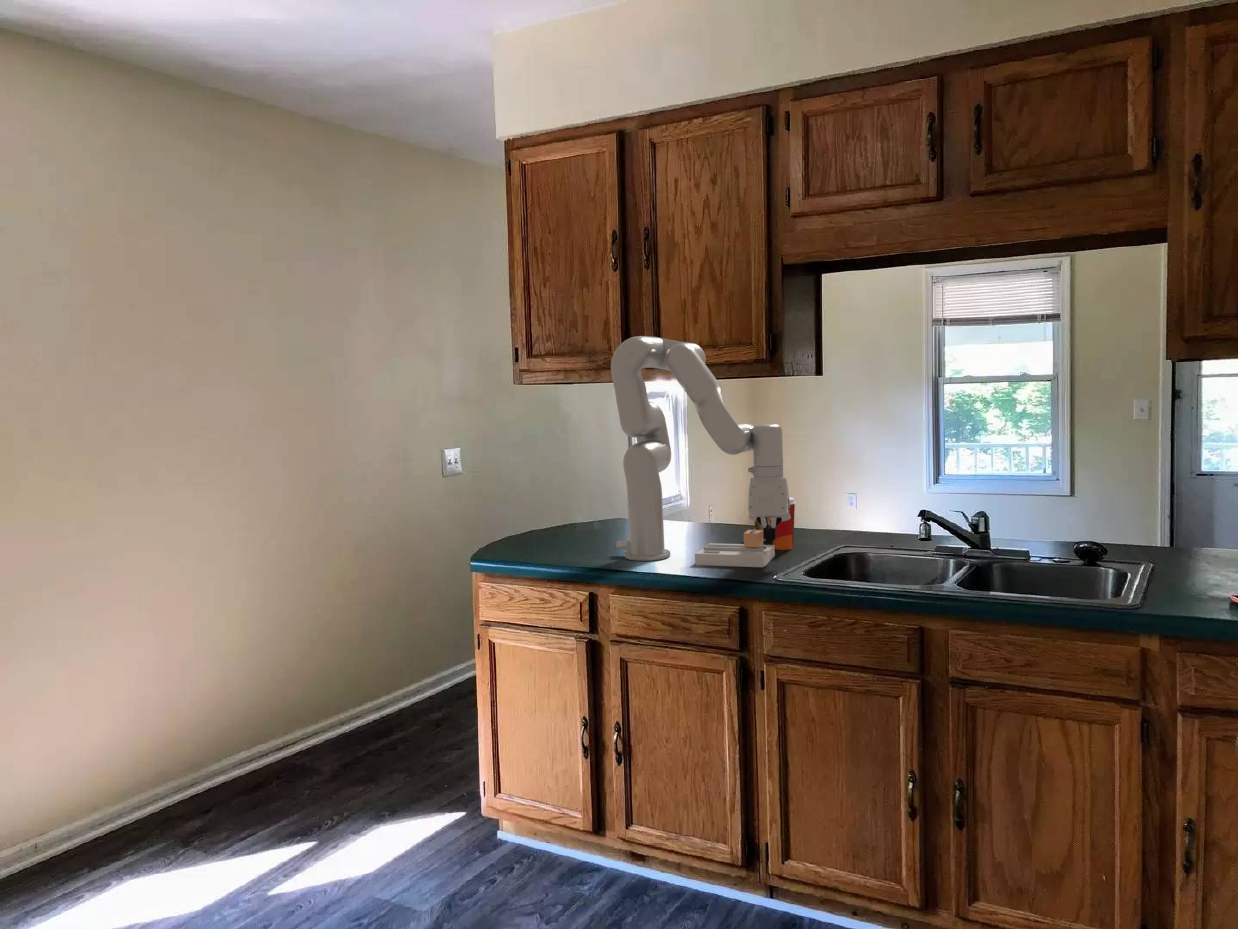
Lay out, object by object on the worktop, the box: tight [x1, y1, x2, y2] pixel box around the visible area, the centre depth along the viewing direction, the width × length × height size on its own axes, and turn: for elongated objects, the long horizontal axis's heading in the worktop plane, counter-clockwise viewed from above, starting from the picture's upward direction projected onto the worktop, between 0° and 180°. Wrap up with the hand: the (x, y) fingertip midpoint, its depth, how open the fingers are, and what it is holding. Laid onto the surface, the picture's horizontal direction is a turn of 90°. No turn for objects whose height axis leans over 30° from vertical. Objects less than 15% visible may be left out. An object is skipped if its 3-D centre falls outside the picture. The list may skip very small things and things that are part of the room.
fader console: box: [694, 542, 776, 568], centre depth 244 cm, size 18×14×4 cm
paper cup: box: [770, 496, 797, 551], centre depth 257 cm, size 8×8×14 cm
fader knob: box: [743, 528, 764, 548], centre depth 242 cm, size 4×5×5 cm
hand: (770, 542), depth 241 cm, fingers closed
